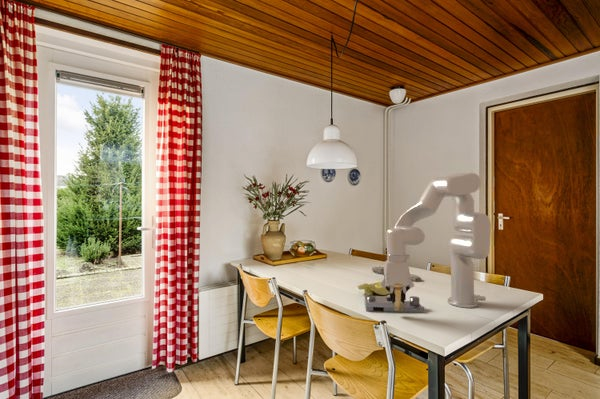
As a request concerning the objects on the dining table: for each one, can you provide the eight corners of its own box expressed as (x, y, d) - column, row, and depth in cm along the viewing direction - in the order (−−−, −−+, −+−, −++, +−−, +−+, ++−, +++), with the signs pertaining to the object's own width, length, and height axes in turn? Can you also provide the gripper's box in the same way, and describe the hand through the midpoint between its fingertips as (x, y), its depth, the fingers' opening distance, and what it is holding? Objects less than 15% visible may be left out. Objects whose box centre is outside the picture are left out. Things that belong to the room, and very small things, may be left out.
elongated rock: (414, 286, 185) (424, 283, 191) (415, 277, 184) (425, 275, 190) (367, 271, 212) (377, 270, 218) (368, 263, 212) (378, 262, 218)
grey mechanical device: (417, 305, 148) (417, 294, 148) (423, 312, 139) (423, 301, 139) (364, 304, 150) (364, 293, 150) (366, 311, 141) (366, 300, 141)
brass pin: (403, 306, 137) (402, 281, 137) (406, 311, 132) (405, 285, 131) (390, 306, 138) (389, 281, 138) (392, 311, 132) (391, 285, 132)
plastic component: (376, 283, 178) (391, 278, 171) (381, 296, 175) (396, 292, 169) (353, 287, 165) (368, 282, 158) (358, 302, 162) (373, 297, 156)
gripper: (414, 256, 137) (416, 298, 138) (375, 256, 139) (376, 298, 139) (419, 259, 130) (420, 305, 130) (377, 260, 132) (378, 305, 132)
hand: (397, 301), depth 135 cm, fingers closed on brass pin, 3 cm apart
